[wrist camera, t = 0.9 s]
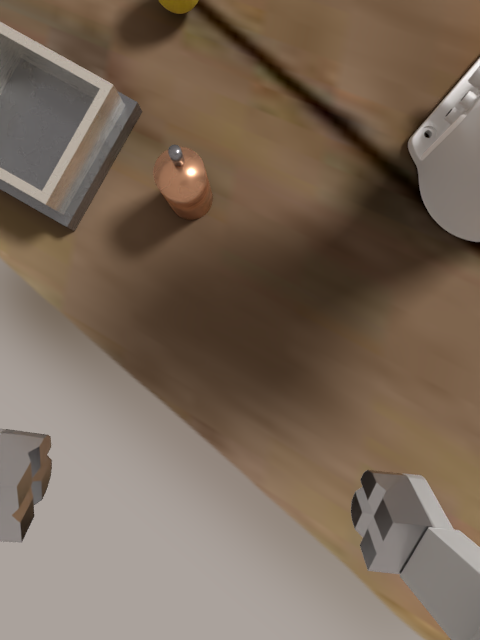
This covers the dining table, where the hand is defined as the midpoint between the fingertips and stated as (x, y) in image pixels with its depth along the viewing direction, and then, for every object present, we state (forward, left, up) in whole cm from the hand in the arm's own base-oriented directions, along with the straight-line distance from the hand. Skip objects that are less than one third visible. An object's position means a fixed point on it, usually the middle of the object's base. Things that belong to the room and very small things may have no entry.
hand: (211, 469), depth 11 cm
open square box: (-11, -32, -36) cm, 50 cm away
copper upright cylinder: (-13, -14, -36) cm, 41 cm away
